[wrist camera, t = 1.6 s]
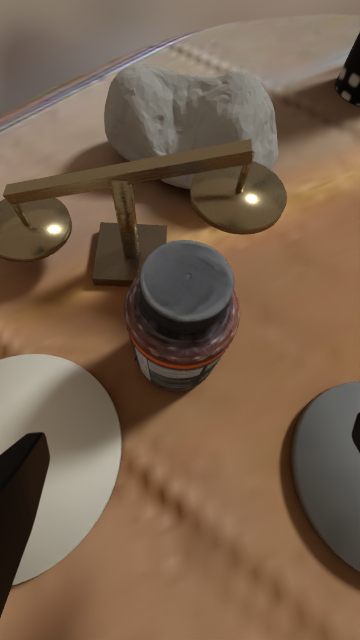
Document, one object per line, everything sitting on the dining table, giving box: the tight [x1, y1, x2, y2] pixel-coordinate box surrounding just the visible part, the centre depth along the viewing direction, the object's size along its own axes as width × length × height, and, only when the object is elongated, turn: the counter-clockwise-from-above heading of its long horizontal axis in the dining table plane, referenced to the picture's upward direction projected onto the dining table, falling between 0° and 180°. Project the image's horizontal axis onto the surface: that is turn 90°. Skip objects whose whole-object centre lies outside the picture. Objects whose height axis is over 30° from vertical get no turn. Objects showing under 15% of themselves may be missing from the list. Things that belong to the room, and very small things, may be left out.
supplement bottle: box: [124, 240, 240, 392], centre depth 17 cm, size 6×6×11 cm
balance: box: [0, 139, 287, 286], centre depth 20 cm, size 6×22×11 cm, turn 90°
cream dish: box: [0, 354, 122, 585], centre depth 18 cm, size 13×13×1 cm
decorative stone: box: [104, 65, 279, 189], centre depth 27 cm, size 17×10×10 cm
